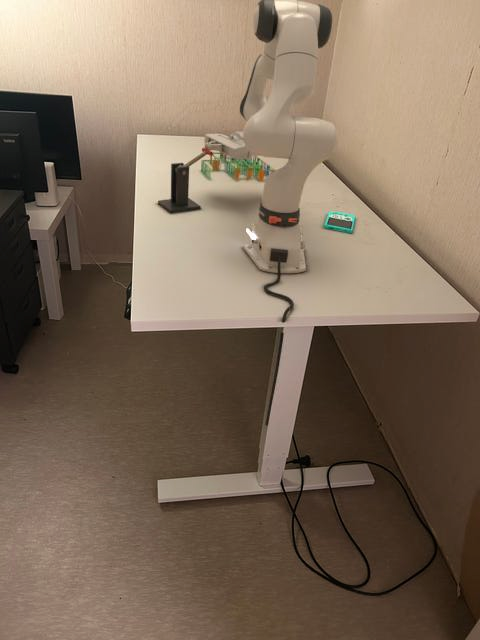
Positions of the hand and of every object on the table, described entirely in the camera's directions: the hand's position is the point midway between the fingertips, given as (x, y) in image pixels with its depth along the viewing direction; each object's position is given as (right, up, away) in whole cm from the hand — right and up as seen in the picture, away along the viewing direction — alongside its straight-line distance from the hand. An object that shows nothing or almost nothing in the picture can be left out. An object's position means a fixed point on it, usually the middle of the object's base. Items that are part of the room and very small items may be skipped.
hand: (206, 146), depth 161 cm
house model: (+7, +9, +51) cm, 52 cm away
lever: (-4, -6, +1) cm, 7 cm away
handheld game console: (+48, -25, +8) cm, 55 cm away
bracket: (-10, -19, +6) cm, 23 cm away
